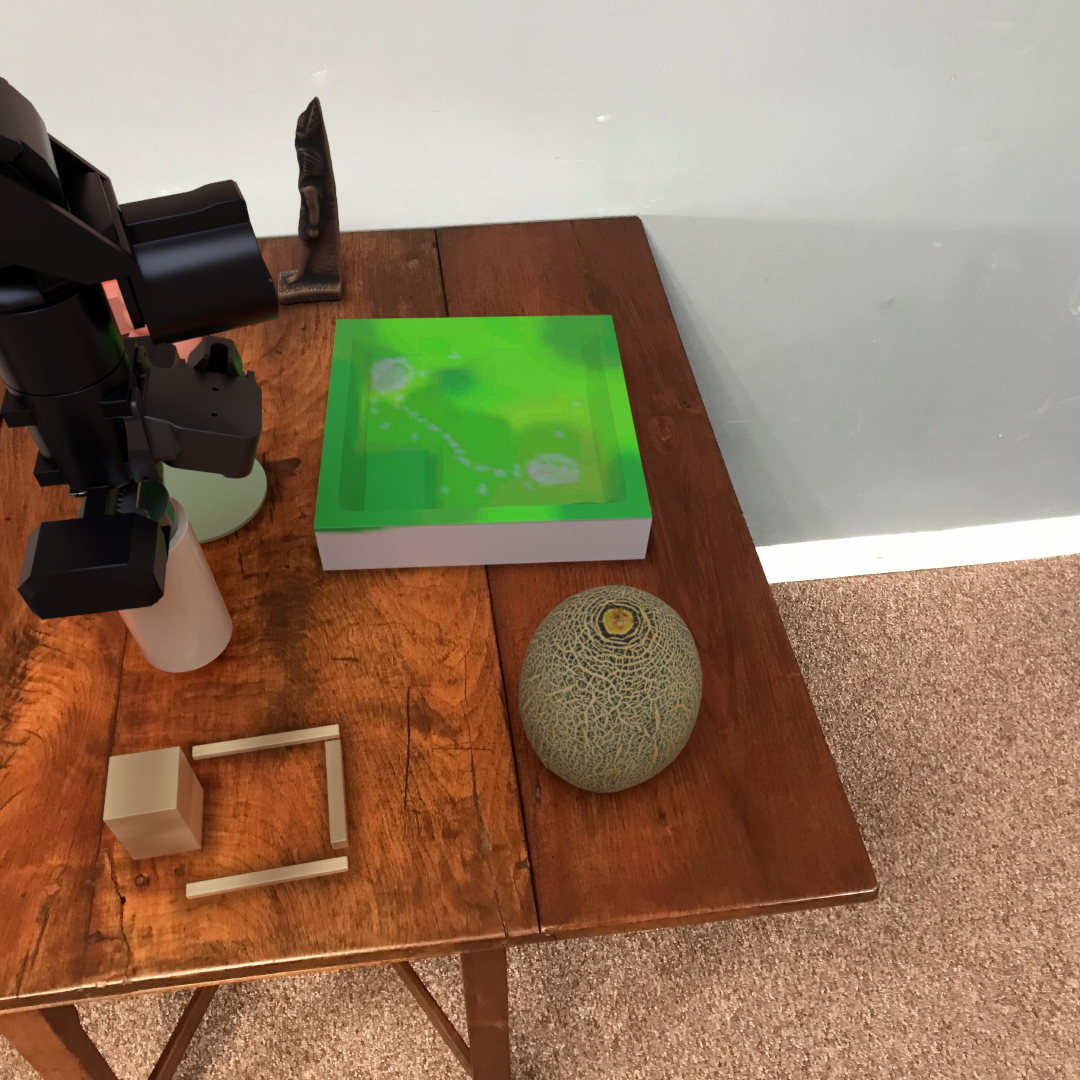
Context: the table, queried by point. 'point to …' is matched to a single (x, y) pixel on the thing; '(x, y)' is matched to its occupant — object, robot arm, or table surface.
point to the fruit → (610, 688)
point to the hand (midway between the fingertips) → (154, 561)
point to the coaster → (217, 499)
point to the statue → (314, 217)
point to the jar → (179, 596)
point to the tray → (478, 445)
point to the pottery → (126, 324)
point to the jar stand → (177, 806)
